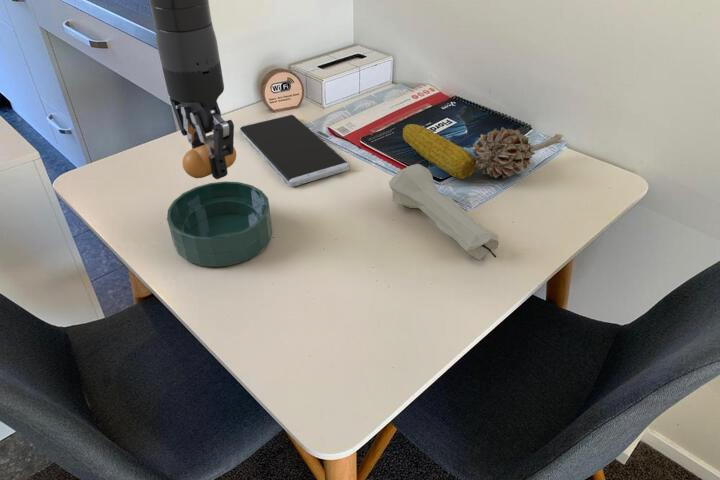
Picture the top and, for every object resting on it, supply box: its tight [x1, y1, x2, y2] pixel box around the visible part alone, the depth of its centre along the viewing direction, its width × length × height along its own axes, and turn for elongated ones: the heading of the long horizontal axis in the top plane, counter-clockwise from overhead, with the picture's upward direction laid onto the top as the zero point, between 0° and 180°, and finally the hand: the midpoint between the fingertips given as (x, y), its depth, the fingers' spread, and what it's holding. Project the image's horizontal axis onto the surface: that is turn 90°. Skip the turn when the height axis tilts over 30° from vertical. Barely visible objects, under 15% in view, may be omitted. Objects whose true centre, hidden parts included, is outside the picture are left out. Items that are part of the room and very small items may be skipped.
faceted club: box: [388, 163, 500, 261], centre depth 88 cm, size 9×8×25 cm
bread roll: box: [182, 141, 237, 179], centre depth 79 cm, size 8×4×4 cm, turn 133°
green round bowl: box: [166, 181, 273, 268], centre depth 86 cm, size 16×16×6 cm
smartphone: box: [239, 113, 350, 187], centre depth 111 cm, size 13×27×2 cm, turn 31°
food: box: [402, 123, 476, 180], centre depth 107 cm, size 21×6×6 cm, turn 33°
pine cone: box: [469, 126, 563, 179], centre depth 103 cm, size 22×10×10 cm, turn 121°
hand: (211, 169), depth 80 cm, fingers closed on bread roll, 4 cm apart
